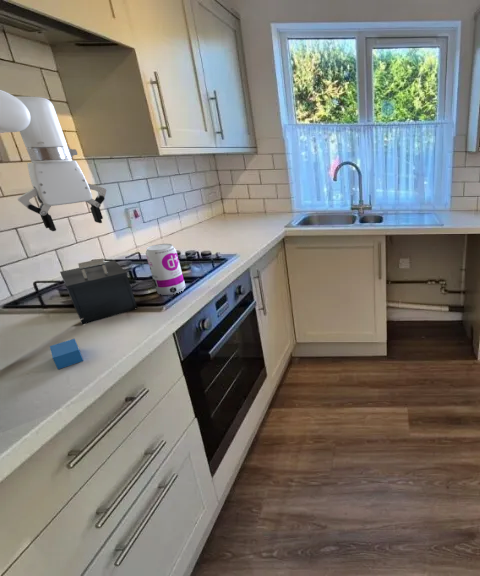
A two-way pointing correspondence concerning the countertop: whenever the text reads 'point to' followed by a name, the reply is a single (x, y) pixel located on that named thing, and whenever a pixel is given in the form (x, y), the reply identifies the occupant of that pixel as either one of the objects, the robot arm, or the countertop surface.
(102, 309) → the bin
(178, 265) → the supplement can
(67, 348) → the blue rectangular block
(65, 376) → the countertop surface
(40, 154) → the robot arm
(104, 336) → the countertop surface
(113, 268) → the bin lid
